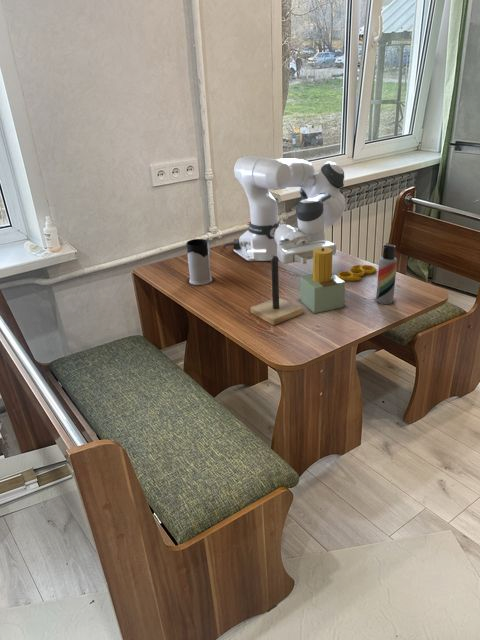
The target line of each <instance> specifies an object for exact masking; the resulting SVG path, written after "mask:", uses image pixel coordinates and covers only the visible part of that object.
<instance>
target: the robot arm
mask: <svg viewBox="0 0 480 640" xmlns="http://www.w3.org/2000/svg"><path fill="white" fill-rule="evenodd" d="M233 174H234V177H235V179H236V180H237V181H238V183H239V184H240V185H241V186H242V188H243V190H244V192H245V195H246V198H247V200H248V205H249V215H250V217H249V218H250V221H247V222H246V226H248V228H247V230H246V231H245V232H244V233H243V234H241V235H240V237H239V238H234V239H233V243H232V242H231V243H226V244H224V245H223V246H222V247H223V248H226V247H228V246H229V247H230V246H233V247H232V248H233V252H235V253H236V254H237V255H239V256H240V257H241V258H243V259H244V260H246V261H247V262H268V261H270V262H271V257H272V256H274V255H276V256H277V257H278V261H279V262H280V263H282V264H284V265H289V264H295V263H298V264H301V265H305V264H308V262H307V261H309V260H313V250H314V249H315V248H318V247H328V248H331V249H332V250H333V251H332V252H333V253H332V256H335V255H336V254H337V244H336V243H335V242H332V241H330V240H328V239H326V231H325V227H329V226H331V227H332V226H334V225H335V224H337V223H338V222H339V221H340V220H341V218H342V217H343V215H344V212H345V210H346V206H347V201H346V198H345V196H344V195H343V194H342V193H341V188H344V185H345V184H344V181H345V172H344V169H343V167H341V166H340V165H339V164H337V163H336V162H334V161H326V162H325V163H324V164H323V165H322V166H321V167H320V169H319V170H318V171H317V172H316V170H315V167H314V165H313V164H312V163H311V162H309V161H307V160H304V159H299V158H282V157H281V158H270V157H263V156H255V155H247V156H242V157H239V158H237V160H236V162H235V164H234V167H233ZM287 188H300V189H299V194H300V199H301V200H299V202H298V203H297V204H296V205H295V208H294V209H295V215H296V221H297V227H294V226H292V225H289V224H286V223H282V224H280V222H279V213H278V212H279V211H278V210H279V208H278V207H279V206H278V202H277V199H276V198H275V197H274V196H273V195H272V193H271V192H270V190H273V191H274V190H284V189H287Z"/></svg>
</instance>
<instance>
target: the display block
mask: <svg viewBox="0 0 480 640" xmlns="http://www.w3.org/2000/svg"><path fill="white" fill-rule="evenodd" d="M332 280H334V281H335V282H336V283H337V284H336V285H331V286H326V287H323V286H322V285H321V284H319V282H315V281H314V280H313V273H309V274H304V275H300V276H299V301H300V302H301V303H302V304H303V305H304V306H306V307H307V308H308V309H309V310H310V311H311V312H312V313H314V314H317V313H323V312H326V311H331V310H336V309H340V308H341V309H342V308H344V307H345V289H346V281H345V280H341V279H340V278H339V277H337V275H336V274H335V273H333V272H332Z"/></svg>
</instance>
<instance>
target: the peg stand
mask: <svg viewBox="0 0 480 640" xmlns="http://www.w3.org/2000/svg"><path fill="white" fill-rule="evenodd" d="M270 264H271V265H270V266H271V267H270V269H271V299H269V300H266V301H264V302H261V303H258V304H256V305H253V306H250V314H252V315H254V316H256V317H257V318H259V319H261V320H262V321H265V322H267V323H268V324H270V325H272V326H275V325H279V324H280V323H283V322H285V321H287V320H290V319H292V318H295V317H297V316H299V315H301V314H303V309H302V307H300V306H298V305H296V304H294V303H292V302H290V301H288V300H286V299H284V298H282V297H280V280H279V277H280V276H279V275H280V274H279V259H278V257H277V256H276V255H274V256H272V257H271V260H270Z"/></svg>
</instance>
